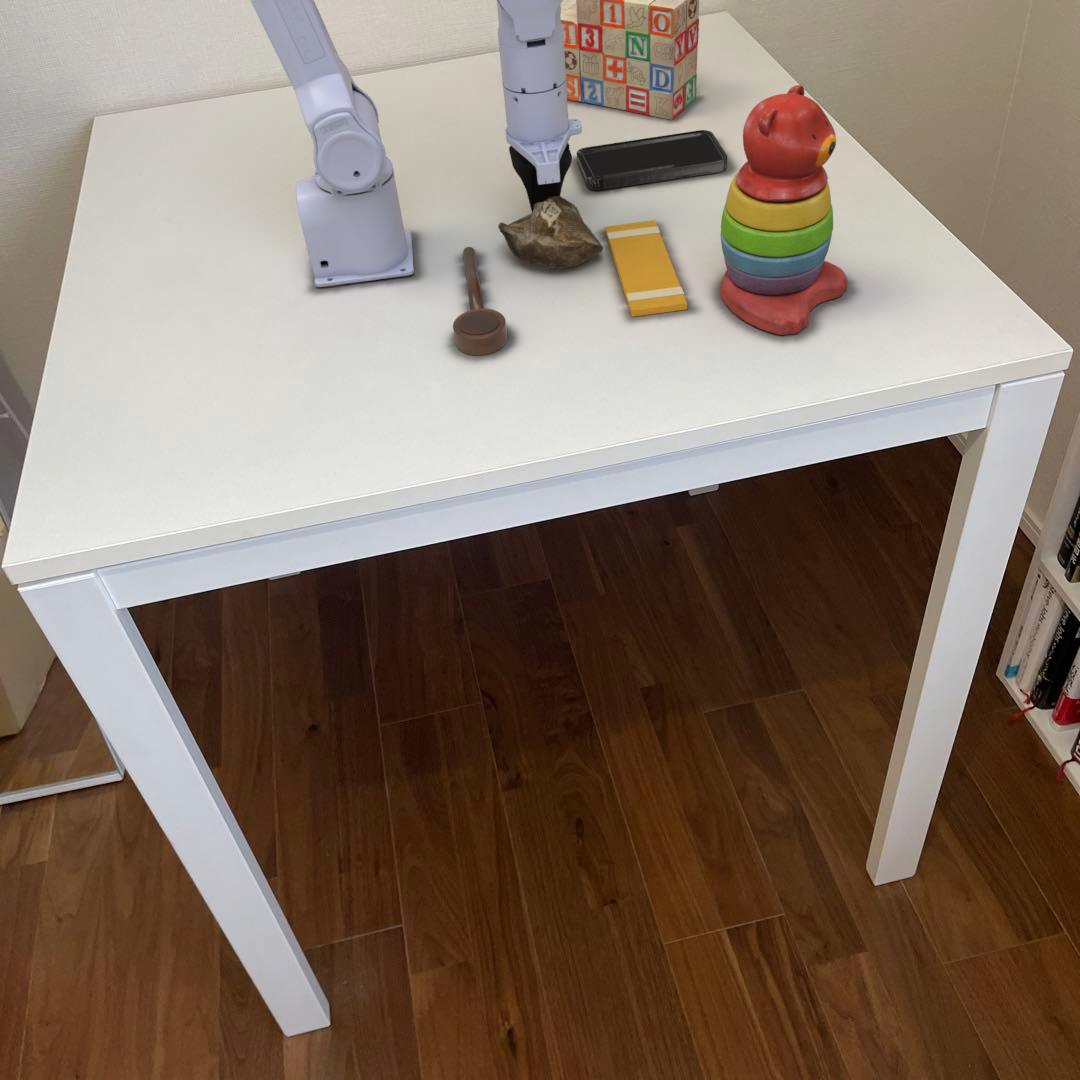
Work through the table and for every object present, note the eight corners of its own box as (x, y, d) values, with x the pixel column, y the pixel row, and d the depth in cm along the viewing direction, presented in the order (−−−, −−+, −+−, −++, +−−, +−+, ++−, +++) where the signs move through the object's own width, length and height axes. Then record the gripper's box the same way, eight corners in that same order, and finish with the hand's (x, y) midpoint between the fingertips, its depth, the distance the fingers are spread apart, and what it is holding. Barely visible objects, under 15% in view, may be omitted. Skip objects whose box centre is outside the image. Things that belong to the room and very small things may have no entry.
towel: (631, 317, 98) (631, 309, 97) (604, 232, 108) (604, 225, 108) (687, 309, 98) (687, 301, 97) (655, 226, 108) (655, 218, 108)
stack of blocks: (515, 91, 133) (505, -17, 125) (542, 71, 137) (534, -35, 128) (673, 120, 125) (674, 6, 116) (698, 98, 128) (701, -14, 119)
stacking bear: (791, 342, 93) (811, 140, 80) (692, 305, 98) (697, 109, 86) (856, 284, 98) (884, 86, 86) (759, 251, 104) (772, 60, 91)
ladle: (446, 258, 107) (443, 241, 106) (492, 252, 107) (490, 235, 106) (457, 358, 95) (454, 340, 94) (509, 351, 95) (507, 333, 94)
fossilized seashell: (477, 240, 104) (555, 288, 100) (503, 173, 101) (585, 220, 98) (521, 245, 110) (597, 291, 106) (547, 182, 108) (626, 227, 104)
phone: (574, 149, 119) (709, 128, 120) (575, 158, 119) (709, 138, 120) (588, 182, 113) (730, 160, 114) (589, 192, 114) (730, 170, 115)
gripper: (590, 108, 94) (597, 250, 103) (567, 44, 104) (575, 179, 114) (508, 119, 93) (522, 260, 103) (493, 53, 104) (507, 187, 113)
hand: (545, 218), depth 108 cm, fingers closed
